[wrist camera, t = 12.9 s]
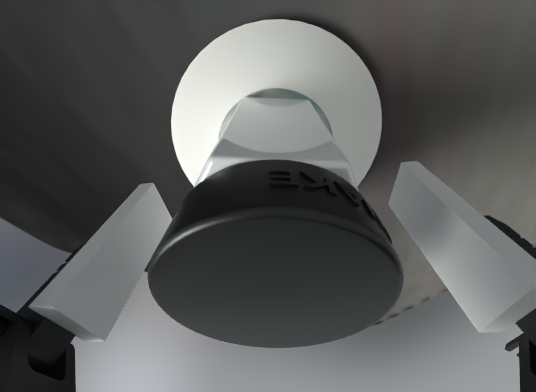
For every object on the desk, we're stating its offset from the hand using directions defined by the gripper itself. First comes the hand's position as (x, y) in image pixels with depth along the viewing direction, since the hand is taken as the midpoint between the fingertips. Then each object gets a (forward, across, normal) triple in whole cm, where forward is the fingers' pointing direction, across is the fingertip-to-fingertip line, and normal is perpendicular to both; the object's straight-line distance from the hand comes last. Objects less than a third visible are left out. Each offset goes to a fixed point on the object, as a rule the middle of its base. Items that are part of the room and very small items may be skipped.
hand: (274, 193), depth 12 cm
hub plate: (+7, 0, 0) cm, 7 cm away
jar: (+6, 0, 0) cm, 6 cm away
